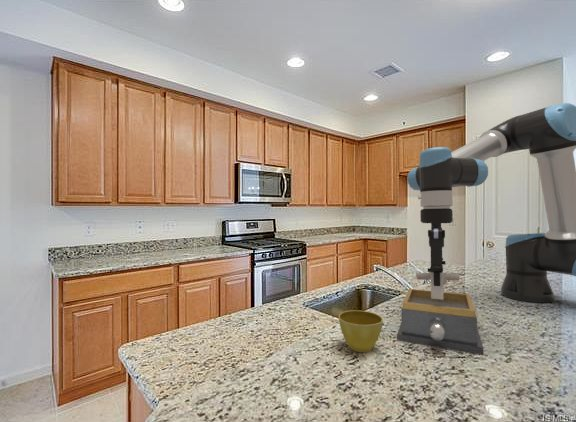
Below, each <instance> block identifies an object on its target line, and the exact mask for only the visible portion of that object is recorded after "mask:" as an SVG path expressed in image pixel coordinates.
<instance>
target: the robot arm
mask: <svg viewBox="0 0 576 422" xmlns="http://www.w3.org/2000/svg"><path fill="white" fill-rule="evenodd" d="M523 150H524V151H525V150H529V156H531V157H533V158H535V159H536V160H537V167H538V173H539V179H540V185H541V189H542V195H543V201H544V206H545V212H546V218H547V224H548V231H547V232H537V233H536V232H534V233H519V234H518V233H517V234H510V235H508V236H507V237H505V238H506V239H505V246H504V248H505V268H506V269H505V270H506V274H505V277H504V279H503V282H502V284H501V287H500V294H501V295H502V296H503V295H504V297H505V296H506V297H505V298H509V299H512V300H517V301H521V302H522V301H523V302H529V303H552V302H554V301H555V293H554V291H553V289H552V286H551V284H550V281H549V279H548V272H550V273H556V274H563V275H569V276H573V277H576V162H575V155H574V151H575V150H576V105H575V104H572V103H570V102H569V103H568V102H563V103H558V104H554V105H549V106H546V107H544V108H540V109H536V110H534V111H530V112H526V113H523V114H520V115H517V116H516V115H515V116H514V117H510V118H509V119H506V120H505V121H503V122H501V123H499V124H497V125H495V126H493V127H492V128H490V129H488V130H486V131H484V132H483V133H482V134H480V135H479V138H477V139H474V140H472V141H471V142H469V143H466V144H465V145H463V146H461V147H459V148H457V149H455V150H451V148H450V147H447V146H438V147H437V146H435V147H430V148H426V149H423V150H422V151H421V152H420V153H419V164H418V166H417V167H415V168H414V167H413V168H412V169H410V171H409V172H408V174H407V183H408V185H409V188H411V189H412V190H414V191H419V194H420V195H418V196H417V200H420V207H421V208H422V209H421V210H420V212H419V213H420V222H421V224H431V225H430V229H428V230H427V236H428V237H427V238H428V246H429V247H430V266H429V267H430V268H427V273H429V272H431V280H430V291H431V298H432V299H442V300H443V292H444V285H443V273H444V265H446V264H447V263H446V260H444V258H443V248H444V247H445V238H446V230H445V229H443V228H442V224H451V223H453V219H454V218H453V217H454V216H453V209H452V208H451V207H453V205H454V204H453V188H458V187H468V188H469V187H477V186H480V185H482V184H483V183H485V181H486V180H487V178H488V176H489V167H488V165H487V164H486V163H485V161H486V160H488V159H490V158H497V157H499V156H500V157H501V156H502V155H504V154H508V153H512V152H518V151H523Z"/></svg>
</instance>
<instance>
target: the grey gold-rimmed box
mask: <svg viewBox="0 0 576 422" xmlns="http://www.w3.org/2000/svg"><path fill="white" fill-rule="evenodd" d="M400 310H401V311H400V313H401V315H400V316H401V323H400V325H399V327H398V331H397V332H396V340H397V341H402V342H407V343H414V344H418V345H425V346H430V347H435V346H436V348H441V347H442V348H443V349H447V348H448V350H453V351H459V352H466V353H472V354H478V355H484V346H483V342H482V338H481V335H480V332H479V328H478V317H477V313H476V308H475V306H474V303H473V300H472V296H471V294H470V293H469V294H467V293H461V292H460V293H459V292H449V291H448V292H447V291H443V300H442V299H432V298H431V290H427V289H419V288H417V289H416V288H408V289H407V292H406V294H405V296H404V299H403V300H402V306H401V309H400Z"/></svg>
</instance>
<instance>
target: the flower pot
mask: <svg viewBox="0 0 576 422" xmlns="http://www.w3.org/2000/svg"><path fill="white" fill-rule="evenodd" d="M338 322H339V327H340V329H341V330H340V331H341V333H342V336H343V338H344V341H345V342H346V344H347V345H348V347H349V348H350V349H351V350H352V351H354V352H358V353H367V352H368V353H369V352H370V351H372V349H373V348H374V346H375V345H376V343H377V342H378V339H379V337H380V334H381V332H382V328H383V327H382V326H383V324H384V319H383V316H381V315H379V314H378V313H375V312H371V311H368V310H367V311H366V310H357V309H356V310H355V309H354V310H346V311H343V312H341V313H340V314H338Z"/></svg>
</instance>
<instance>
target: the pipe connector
mask: <svg viewBox="0 0 576 422" xmlns="http://www.w3.org/2000/svg"><path fill="white" fill-rule="evenodd" d="M415 273H416V274H415V276H416V277H415V279H416V280H424V281H427V280H428V281H431V272H415ZM448 281H454V282H455V281H456V282H457V281H460V274H459V273H458V272H457V273H452V272H451V273H450V272H446V273H445V272H443V285H447V283H448Z"/></svg>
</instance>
